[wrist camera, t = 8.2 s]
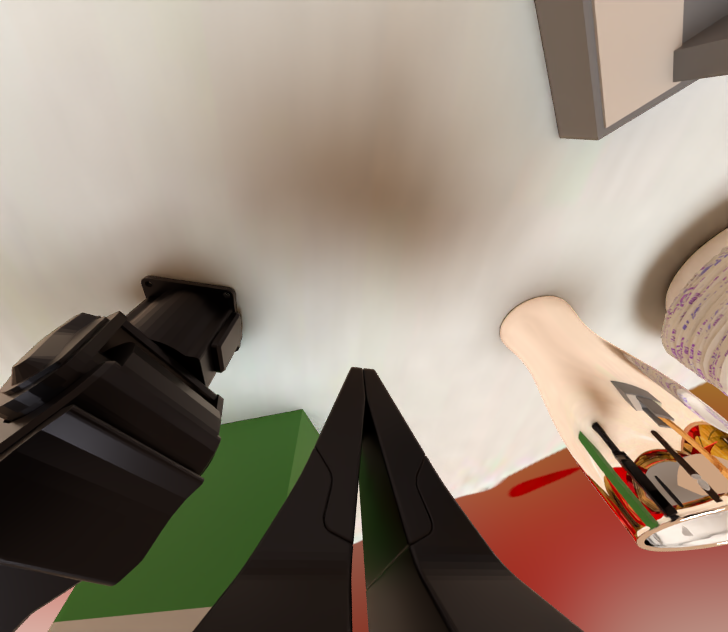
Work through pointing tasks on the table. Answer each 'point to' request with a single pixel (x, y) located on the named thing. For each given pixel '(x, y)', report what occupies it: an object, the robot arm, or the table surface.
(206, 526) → the hardback book
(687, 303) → the paper bowls
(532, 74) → the table surface
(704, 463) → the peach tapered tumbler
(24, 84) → the table surface
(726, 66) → the breaker block
